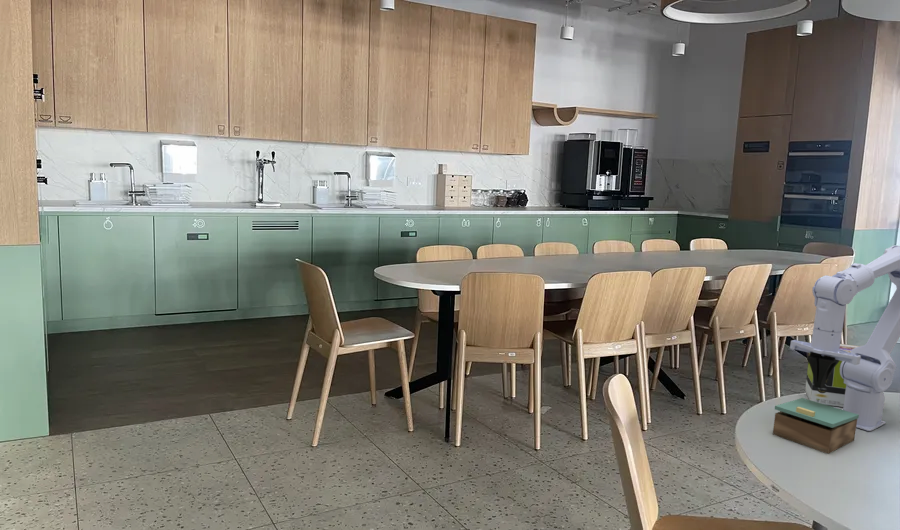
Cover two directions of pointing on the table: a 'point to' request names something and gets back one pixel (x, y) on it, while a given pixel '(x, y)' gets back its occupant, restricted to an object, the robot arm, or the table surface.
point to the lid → (817, 412)
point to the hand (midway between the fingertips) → (819, 386)
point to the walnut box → (813, 432)
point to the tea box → (829, 384)
